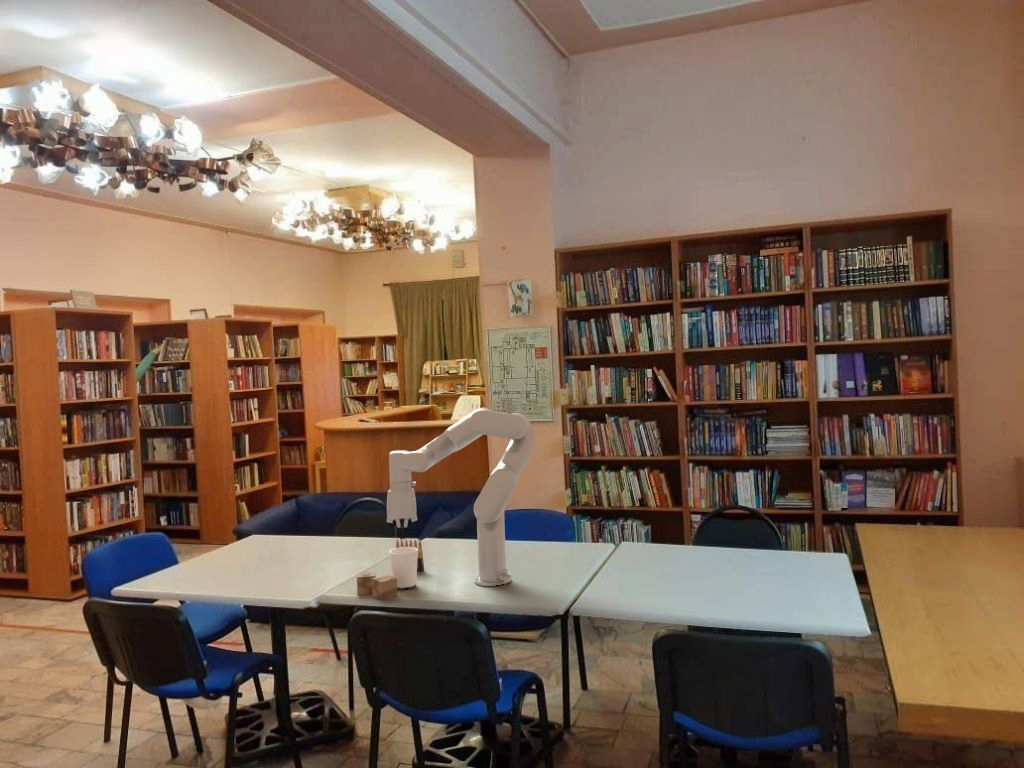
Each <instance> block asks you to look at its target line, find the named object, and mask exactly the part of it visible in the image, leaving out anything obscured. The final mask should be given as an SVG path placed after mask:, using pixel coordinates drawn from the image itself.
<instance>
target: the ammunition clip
mask: <svg viewBox="0 0 1024 768" xmlns="http://www.w3.org/2000/svg"><path fill="white" fill-rule="evenodd" d="M403 540H405V541H403ZM408 542H409V543H408ZM400 547H414V548H417V549H418V559H417V573H423V572H424V571H425V566H424V565H425V564H424V563H425V562H424V557H423V555H424V553H423V547H422V540H421V539H419V540H418V543H417V539H414V540H412V539H411V538H410V539H409V541H408V539H407V538H405V539H403V538H402V539H400V541H399V539H398V538H397V539H396V541H395V548H400Z"/></svg>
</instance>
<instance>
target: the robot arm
mask: <svg viewBox="0 0 1024 768" xmlns="http://www.w3.org/2000/svg"><path fill="white" fill-rule="evenodd" d="M484 435H485V436H489V437H493V438H501V439H508V440H509V443H508V445H507V447H506V449H505V450H504V452H503V455H502V456H501V458H500V460H499V462H498V463H497V465H496V467H495V468H494V469H493V470H492V471H491V472H490V475H489V477H488V478H487V480H486V482H485V484H484V486H483V487H482V489H481V491H480V493H479V494H478V496H477V498H476V500H475V502H474V504H473V513H474V516H475V518H476V531H477V556H478V559H477V560H478V576H476V577H475V578H474V583H475V584H476V585H478V586H482V587H483V586H484V587H497V586H496V585H500V586H502V585H501V584H504V585H507V584H509V583H510V582H511V581H512V575H511V574H509V573H508V569H507V558H506V557H507V555H506V554H507V553H506V536H505V535H506V532H505V531H506V530H505V529H506V528H505V508H506V506H507V504H508V503H509V501H510V499H511V498H512V496H513V493H514V492H515V491H516V488H517V485H518V483H519V479H520V477H521V474H522V472H523V471H524V469H525V467H526V465H527V463H528V461H529V459H530V458H531V455H532V452H533V449H534V446H535V440H536V438H535V431H534V428H533V426H532V423H531V422H530V421H529V419H528V418H527V416H525V415H524V414H522V413H520V412H513V413H509V412H500V411H495V410H491V409H489V408H488V407H480V408H479V407H478V408H477V409H474V410H473V411H472V412H471V413H469V414H468V415H466V416H464V417H463V418H462V419H460V420H458V421H457V422H456V423H454V424H452V425H451V426H449V427H448V428H447V429H445V430H444V431H443V433H442V434H440V435H439V436H437V437H436V438H434V439H433V440H431V441H430V442H428V443H427V444H425V445H424V446H423V447H421V448H419V449H417V450H414V451H410V450H406V449H403V450H402V449H398V450H392V451H390V452H389V455H388V463H389V464H388V467H389V489H388V490H387V496H386V497H387V498H386V523H390V524H393V525H394V526H395V527H397V536H398V538H399V539H400V540H401V539H402V540H406V537H407V536H408V531H407V528H408V526H409V525H411V523H413V522H416V521H418V516H417V501H416V499H417V498H416V492H415V489H414V487H415V486H417V482H416V481H413V479H412V472H413V473H414V472H415V473H424V472H426V471H428V470H429V469H430V468H432V467H433V466H434V465H436V464H437V463H439V462H440V461H442V460H443V459H445V458H446V457H448V456H450V455H451V454H453V453H455V452H458V451H460V450H462V449H464V448H465V447H466V446H468V445H469V444H471V443H473V442H474V441H476V440H477V439H479V438H480V437H482V436H484ZM401 520H404V521H403V525H402V524H401ZM508 582H509V583H508ZM506 583H507V584H506Z"/></svg>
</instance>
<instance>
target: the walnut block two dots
mask: <svg viewBox="0 0 1024 768" xmlns="http://www.w3.org/2000/svg"><path fill="white" fill-rule="evenodd" d="M372 590H373V594H372V597H374V598H376V599H378V600H381V601H382V600H383V601H384V600H387V599H390V597H391V598H394V596H395V597H398V588H397V578H395V577H393V575H390V574H386V575H381V576H376V578H372Z"/></svg>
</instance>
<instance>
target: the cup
mask: <svg viewBox="0 0 1024 768" xmlns="http://www.w3.org/2000/svg"><path fill="white" fill-rule="evenodd" d="M417 559H418V547H417V548H414V546H413V547H409V546H408V547H405V546H404V547H400V546H399V548H396V547H395V548H392V549H390V550H389V561H390V565H391V566H390V568H391V573H392V575H391V576H393V577H395V578H397V589H398V590H399V591H403V590H404V589H408V590H412V589H413V588H414V587H416V586H417V577H418V576H417V574H418V572H417Z"/></svg>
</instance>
